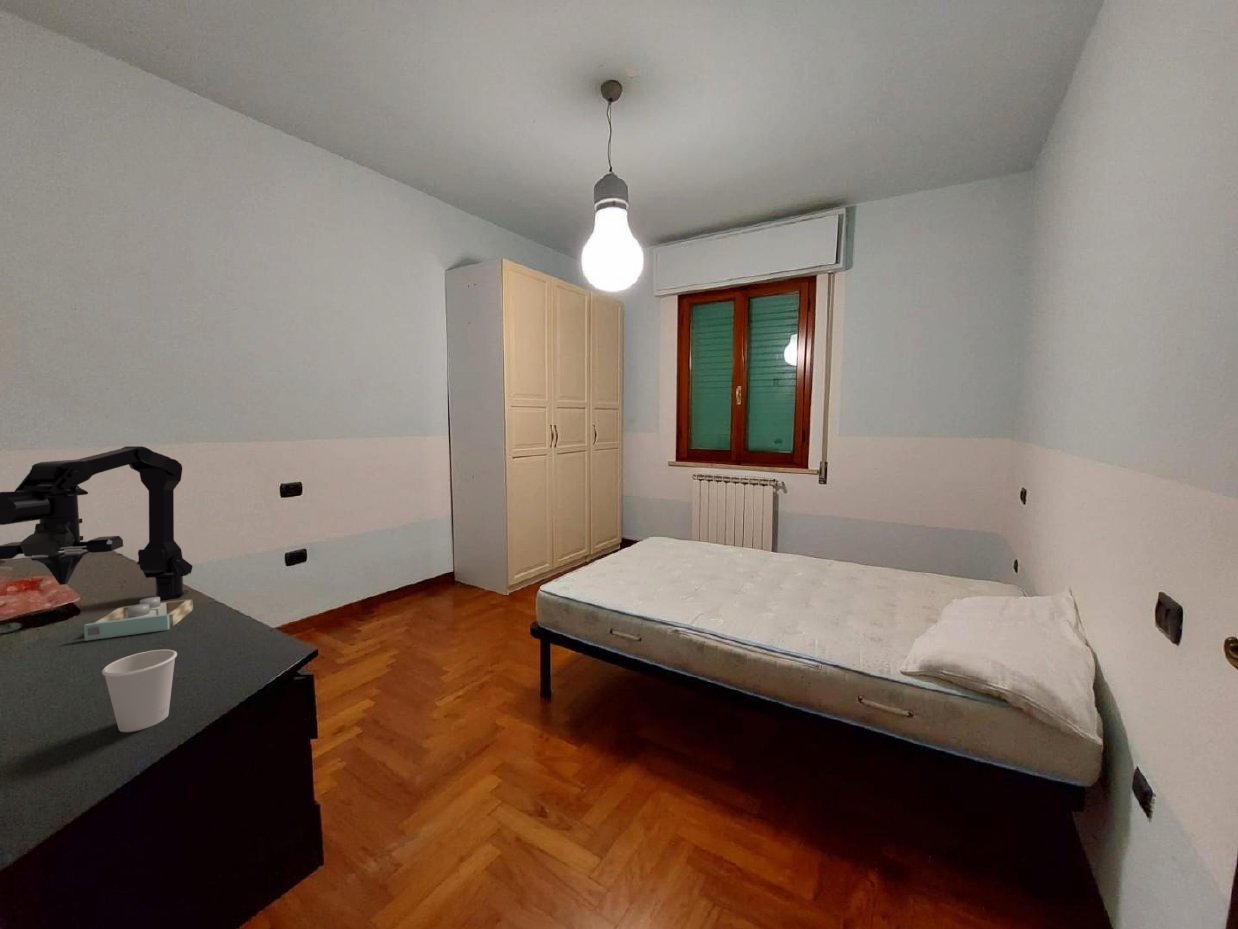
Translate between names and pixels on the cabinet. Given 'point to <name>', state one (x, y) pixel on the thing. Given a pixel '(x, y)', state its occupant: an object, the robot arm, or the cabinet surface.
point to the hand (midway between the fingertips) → (63, 584)
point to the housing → (173, 607)
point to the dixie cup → (141, 688)
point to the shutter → (126, 627)
